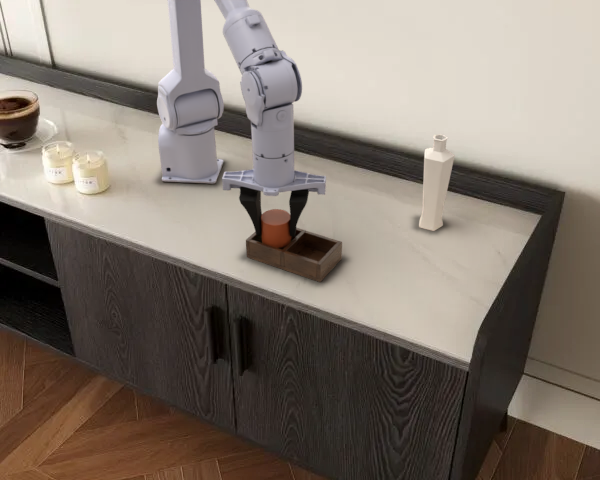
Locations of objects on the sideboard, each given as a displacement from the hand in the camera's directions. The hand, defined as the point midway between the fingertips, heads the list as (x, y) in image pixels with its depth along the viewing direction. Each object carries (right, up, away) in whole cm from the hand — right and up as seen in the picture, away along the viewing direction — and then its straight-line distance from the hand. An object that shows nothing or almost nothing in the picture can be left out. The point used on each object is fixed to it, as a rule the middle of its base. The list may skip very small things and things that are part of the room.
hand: (276, 231), depth 112 cm
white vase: (+24, +2, +8) cm, 25 cm away
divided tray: (+3, -4, +1) cm, 5 cm away
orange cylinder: (0, -1, +1) cm, 1 cm away
